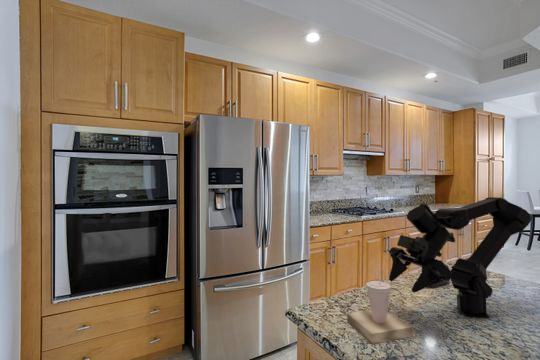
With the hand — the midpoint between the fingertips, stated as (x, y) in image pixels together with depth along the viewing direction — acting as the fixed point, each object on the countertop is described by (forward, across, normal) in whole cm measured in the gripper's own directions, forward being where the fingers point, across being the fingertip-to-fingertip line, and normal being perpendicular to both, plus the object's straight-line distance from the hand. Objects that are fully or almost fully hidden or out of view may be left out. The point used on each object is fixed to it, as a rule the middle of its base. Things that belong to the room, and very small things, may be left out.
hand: (400, 285), depth 80 cm
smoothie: (+12, 0, +1) cm, 12 cm away
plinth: (+13, 0, +2) cm, 13 cm away
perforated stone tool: (-16, -23, +33) cm, 43 cm away
